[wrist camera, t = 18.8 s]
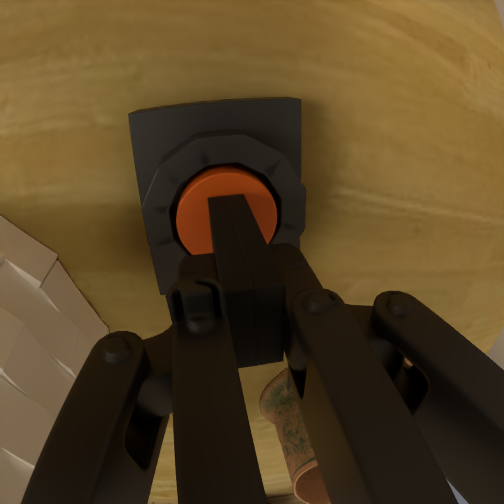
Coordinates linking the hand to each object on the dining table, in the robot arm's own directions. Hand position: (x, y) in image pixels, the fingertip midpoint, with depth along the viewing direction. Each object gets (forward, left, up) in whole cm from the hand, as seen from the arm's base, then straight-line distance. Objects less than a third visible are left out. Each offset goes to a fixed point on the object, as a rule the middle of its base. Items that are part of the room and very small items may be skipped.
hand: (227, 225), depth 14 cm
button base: (0, 0, -5) cm, 5 cm away
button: (0, 0, -2) cm, 2 cm away
